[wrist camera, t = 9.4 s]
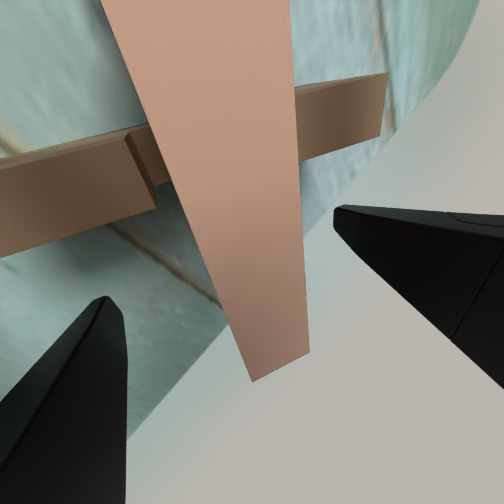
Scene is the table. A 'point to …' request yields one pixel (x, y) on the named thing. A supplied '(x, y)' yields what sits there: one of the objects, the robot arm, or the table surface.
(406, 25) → the table surface
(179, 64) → the crosspiece
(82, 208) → the cross rail
